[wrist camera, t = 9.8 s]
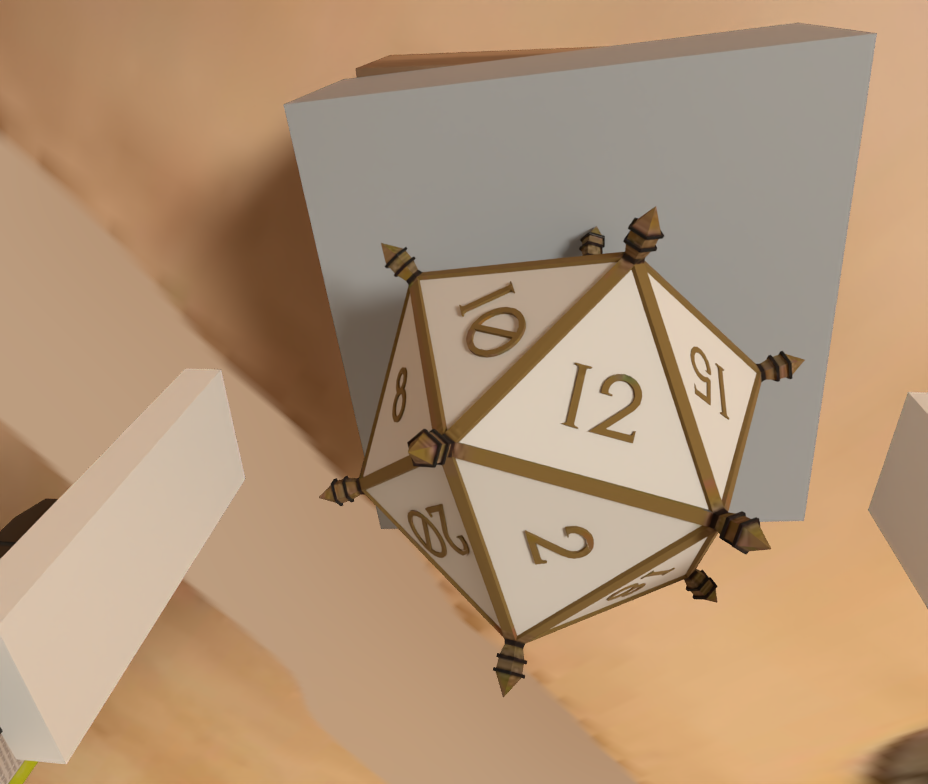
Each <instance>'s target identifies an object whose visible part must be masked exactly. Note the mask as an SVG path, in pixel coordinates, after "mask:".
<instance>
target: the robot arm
mask: <svg viewBox="0 0 928 784" xmlns="http://www.w3.org/2000/svg"><path fill="white" fill-rule="evenodd" d="M244 480H245V474H244V470H243V465H242V461H241V456H240V452H239V447H238V443H237V438H236V434H235V430H234V425H233V420H232V416H231V411H230V407H229V402H228V398H227V394H226V389H225V384H224V380H223V376H222V371H221V369H193V368H186V369H184V370H183V371H182V372H181V373H180V374H179V375H178V376H177V377H176V378H175V379H174V381H172V382H171V384H170V385H169V386H168V387H167V388H166V389H165V390H164V391H163V392H162V393H161V394H160V395H159V396H158V397H157V398H156V399H155V400H154V401H153V402H152V403H151V404H150V405H149V406H148V407H147V408H146V409H145V411H143V412H142V413H141V415H139V417H138V418H137V419H136V420H135V421H134V422H133V423H132V424H131V425H130V426H129V427H128V428H127V429H126V430H125V431H124V432H123V433H122V434H121V435H120V436H119V437H118V438H117V439H116V440H115V441H114V442H113V443H112V445H110V447H108V449H107V450H106V451H105V452H104V453H103V454H102V455H101V456H100V457H99V458H98V459H97V460H96V461H95V462H94V463H93V464H92V465H91V466H90V467H89V468H88V469H87V470H86V471H85V472H84V473H83V474H82V475H81V476H80V477H79V479H77V481H75V483H74V484H73V485H72V486H71V487H70V488H69V489H68V490H67V491H66V492H65V493H64V494H63V495H62V496H61V497H60V498H59V499H44V500H43V501H41V502H39V503H38V504H36V505H34V506H33V507H31V508H30V509H28V510H26V511H25V512H23V513H21V514H20V515H18V516H16V517H15V518H14V519H13V520H12V521H11V522H10V523H8V524H7V525H6V526H5V527H4V528H3V529H2V530H1V531H0V734H2V735H3V737H4V739H5V741H6V743H7V744H8V746H9V748H10V750H11V751H12V753H13V755H14V757H15V758H16V759H18V760H28V761H38V762H49V763H59V764H67V763H68V761H69V759H70V758H71V756H72V755H73V753H74V751H75V750H76V748H77V747H78V745H79V743H80V742H81V740H82V739H83V737H84V735H85V734H86V732H87V731H88V729H89V727H90V726H91V724H92V723H93V721H94V719H95V718H96V716H97V715H98V713H99V712H100V710H101V708H102V707H103V705H104V704H105V702H106V700H107V699H108V697H109V696H110V694H111V692H112V691H113V689H114V688H115V686H116V684H117V683H118V681H119V680H120V678H121V676H122V675H123V673H124V672H125V670H126V668H127V667H128V665H129V664H130V662H131V661H132V659H133V657H134V656H135V654H136V653H137V651H138V649H139V648H140V646H141V645H142V643H143V641H144V640H145V638H146V637H147V635H148V633H149V632H150V630H151V629H152V627H153V625H154V624H155V622H156V621H157V619H158V618H159V616H160V614H161V613H162V611H163V610H164V608H165V606H166V605H167V603H168V602H169V600H170V598H171V597H172V595H173V594H174V592H175V590H176V589H177V587H178V586H179V584H180V582H181V581H182V579H183V578H184V576H185V574H186V573H187V571H188V570H189V568H190V566H191V565H192V563H193V562H194V560H195V559H196V557H197V555H198V554H199V552H200V551H201V549H202V547H203V546H204V544H205V543H206V541H207V539H208V538H209V536H210V534H211V533H212V531H213V530H214V528H215V527H216V525H217V523H218V522H219V520H220V519H221V517H222V516H223V514H224V512H225V511H226V509H227V508H228V506H229V504H230V503H231V501H232V500H233V498H234V496H235V495H236V493H237V492H238V490H239V488H240V487H241V485H242V484H243V482H244ZM868 511H869V512H870V514H871V516H872V517H873V519H874V521H875V522H876V524H877V526H878V527H879V529H880V531H881V532H882V534H883V536H884V537H885V539H886V540H887V542H888V544H889V545H890V547H891V549H892V550H893V552H894V554H895V555H896V557H897V559H898V560H899V562H900V564H901V565H902V567H903V569H904V570H905V572H906V574H907V575H908V577H909V579H910V580H911V582H912V583H913V585H914V587H915V588H916V590H917V592H918V593H919V595H920V597H921V598H922V600H923V602H924V603H925V605H926V607H927V608H928V393H925V392H908V394H907V397H906V400H905V403H904V406H903V409H902V412H901V415H900V417H899V420H898V423H897V426H896V429H895V432H894V435H893V438H892V441H891V444H890V447H889V450H888V453H887V456H886V459H885V462H884V465H883V468H882V470H881V473H880V476H879V479H878V482H877V485H876V488H875V491H874V494H873V497H872V500H871V503H870V506H869V509H868Z"/></svg>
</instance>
